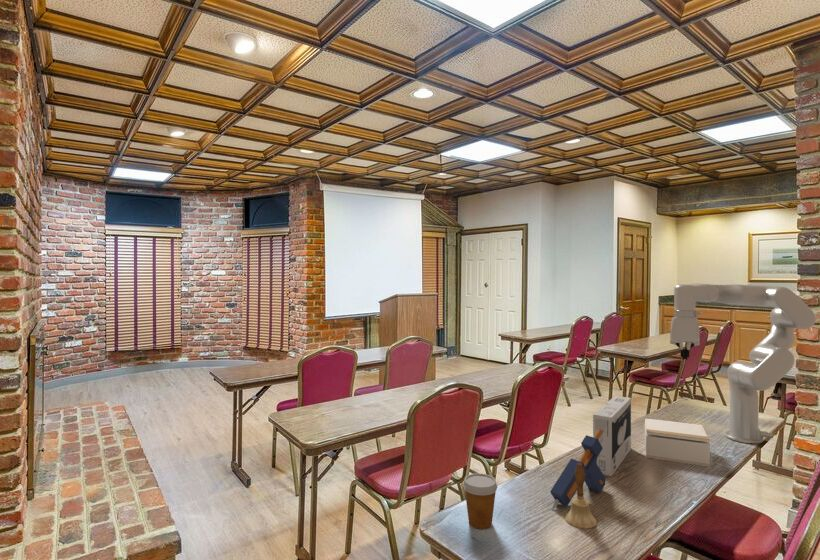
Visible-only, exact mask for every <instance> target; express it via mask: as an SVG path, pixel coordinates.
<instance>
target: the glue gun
mask: <svg viewBox="0 0 820 560" xmlns="http://www.w3.org/2000/svg"><path fill="white" fill-rule="evenodd" d="M602 433H603V431H602V430H601V429H599V430H598V432H597V433H596V435H595V436H594V437H593V436H590V435H587V434H586V435H585V436H584V438H583V439H582V441H581V442H580V443H581V446H582V448H583V450H584V453H582V455H581V457H580V459H578V460H576V459H574V458H570V460H569V461H568V462H567V464H566V466H565V467H564V469H563V471H562V472H561V474H560V475H559V477H558V479H557V480H556V481H555V483H554V484H553V487H552V488H551V490H550V494H551V496H552V497H553V499H554V503H552V504H553V505H552V507H551V509H550V510H551V511H552V510H554V508H556V507H557V505H558V504H560V505H562V506H565V507H568V506H569V504H570V502H571V501H572V500H573V499H574V496H575V495H576V494H577V483H576V480H575V469H576V466H577V463H581V464H582V467H583V469H584V473H585V480H584V484H585V485H586V486H587V488H588V489H590V490H591V491H594V492H597V493H600V494H601V493H602V491H603V489H604V488H605V486H606V479H607V478H606V475H604V474H603V473H602V472H601V470H600V469H599V467H598V465H597V458H598V456H599V454H600V452H601V451H602V449H603V448H602V446H601V444H600V442H599V440H598V439H599V438H600V436H601V434H602Z"/></svg>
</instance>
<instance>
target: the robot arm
mask: <svg viewBox="0 0 820 560" xmlns="http://www.w3.org/2000/svg"><path fill="white" fill-rule="evenodd" d="M673 289H674V290H673V291H674V292H673V293H674V295H673V298H674V299H673V301H674V302H673V303H674V305H673V307H674V309H673V311H674V312H673V313H674V314H673V315H674V316H672V317H671V320H670V333H669V335H670V336H669V338H670V339H669V343H670V344H671V345H674V346H677V347H678V348H679V349H680V353H679V355H680V358H681V359H682V360H688V358H690V350H691V349H692V348H693V347H697V346H700V345H701V343H700V338H701V337H700V325H699V320H698V318H697V316H700V315H701V314H700V311H697V310H696V303H697V302H698V303H699V302H700V303H719V304H724V305H732V306H743V307H745V306H746V307H763V308H772V310H771V311H770V315H769V319H770V320H769V321H770V326H771V327H770V331H769V333H768V334H767V335H766V336H765V337H763V338H762V340H761V341H759V342H758V343H757V344H756V345H755V346H754V347H753V348H752V349H751V350H750V352H749V354H748V355H749V360H750V362H748V361H741V360H739V361H734V362H732V363H730V365H729V366H728V367H727V371H726V372H727V380H728V385H729V386H728V387H729V430H727V431H725V434H724V435H725V437H726V438H727V439H730V440H731V441H732V440H733V441H736V442H739V443H745V444H751V443H752V444H751V445H753V444H762V443H763V442H764V438H767V439H773V438H774V433H772V432H768V431H765V430H764V431H762V430H760V427H759V407H760V406H759V402H760V401H759V392H758V391H761V392H762V391H767V390H770V389H771V388H772V387H773V386H775V385H776V384H777V383H778V382H779V381H780V380H781V379H782V378H783V377H785V376H786V375H787V374H788V373H789V372H790V371H791V370H792V368H793V367H794V364H795V356H794V354H793V353H792V352H791V351H790V350H789V349H790V348H791V347H792V346H793V344H794V342H795V330H794V329H798V330H806V329H810V328H812V327H813V326H814V325H815V323H816V320H817V319H816V314H815V313H814V311H813V310H812V308H810V307H809V305H807V304H806V302H804V300H803V299H801V298H800V297H799V296H798V295H797V294H796V293H795V291H792V290H791V289H789V288H787V287H785V286H769V285H749V284H709V283H691V284H677V285H675V286H674V288H673ZM684 343H686V346H685V347H684Z"/></svg>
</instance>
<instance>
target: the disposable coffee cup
mask: <svg viewBox="0 0 820 560" xmlns="http://www.w3.org/2000/svg"><path fill="white" fill-rule="evenodd" d="M462 487H463V489H464V494H465V501H466V509H467V516H468V523H469V525H470V526H471V528H474V529H478V530H486V529H490V528H491V527H492V524H493V516H494V508H495V501H496V494H497V493H496V492H497V489H498V488H499V487H498V483H497V481H496V478H495V477H493V475H489V474H486V473H480V472H477V473H471V474H468V475H466V476H465V477H464V480H463V482H462Z"/></svg>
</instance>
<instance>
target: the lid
mask: <svg viewBox="0 0 820 560" xmlns="http://www.w3.org/2000/svg"><path fill="white" fill-rule="evenodd" d="M645 423H646V431H647V434H648V435H656V436H664V437H672V438H679V439H687V440H695V441H703V442H709V443H710V438H709V436H708V435H707V433H706V431H705V429H704V426H703V425H702V424H698V423H697V424H696V423H694V424H693V423H689V422H688V423H687V422H678V421H672V420H671V421H670V420H661V419H653V418H652V419H651V418H645V421H644V424H645Z"/></svg>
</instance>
